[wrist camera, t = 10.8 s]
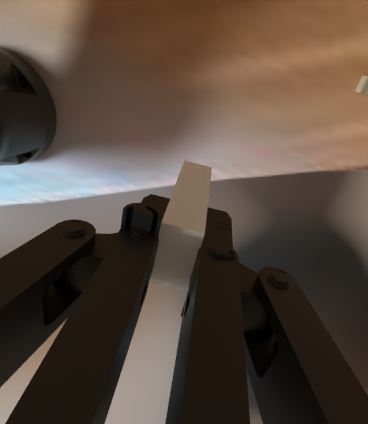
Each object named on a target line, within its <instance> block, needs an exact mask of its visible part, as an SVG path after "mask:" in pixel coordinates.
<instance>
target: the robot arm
mask: <svg viewBox="0 0 368 424" xmlns="http://www.w3.org/2000/svg"><path fill="white" fill-rule="evenodd" d="M55 129H56V114H55V108H54V104H53V101H52V98H51V95H50V93H49V91H48V89H47V87H46V85H45V84H44V82H43V81H42V79H41V78H40V76H39V75H38V74H37V73H36V71H35V70H34V69H33V68H32V67H31V66H30V65H29V64H28V63H27V62H25V61H24V60H23V59H21V58H20V57H19V56H17V55H15V54H14V53H12V52H10V51H8V50H5V49H3V48H0V165H18V164H22V163H26V162H28V161H30V160H32V159H34V158H36V157H38V156H39V155H41V154H42V153H44V152H45V151H46V150H47V148H48V147H49V146H50V144H51V142H52V140H53V137H54V134H55ZM211 170H212V167H208V166H204V165H199V164H195V163H191V162H187V161H184V164H183V166H182V169H181V172H180V174H179V177H178V180H177V182H176V185H175V188H174V190H173V193H172V196H171V198H170V199H169V198H165V197H161V196H157V195H152V194H151V195H149V196H147V197H145V198H144V199H143V200H142V202H141V203H132V204H129V205H126V206H125V207H124V208H123V215H122V223H121V229H120V231H119V232H118V233H113V234H96V233H95V231H96V229H95V228H94V226H93V225H92V224H90V223H88V222H86V221H82V220H67V221H63V222H60V223H58V224H56V225H55V226H53V227H51V228H50V229H48V230H46V231H45V232H43V233H42V234H40V235H38V236H36V237H35V238H33V239H32V240H30V241H28V242H27V243H25V244H23V245H22V246H20V247H18V248H17V249H15V250H13V251H12V252H10V253H9V254H7V255H5V256H4V257H2V258H0V387H1V386H2V385H3V384H4V383H5V382H6V381H7V380H8V379H9V378H10V377H11V376H12V375H13V374H14V373H15V372H16V371H17V370H18V368H19V367H21V365H22V364H23V363H24V362H25V361H26V360H27V359H28V358H29V357H30V356H31V355H32V354H33V353H34V352H35V351H36V350H37V349H38V348H39V347H40V346H41V345H42V344H43V343H44V342H45V341H46V340H47V339H48V337H49V336H50V335H51V334H52V333H53V332H54V331H55V330H56V329H57V328H58V327H59V326H60V325H61V324H62V323H63V322H64V321H65V320H66V319H67V318H68V319H67V320H66V322H65V324H64V325H63V327H62V329H61V330H60V332H59V334H58V335H57V337H56V339H55V340H54V342H53V344H52V346H51V347H50V349H49V351H48V352H47V354H46V356H45V357H44V359H43V361H42V362H41V364H40V366H39V368H38V369H37V371H36V373H35V374H34V376H33V378H32V379H31V381H30V383H29V384H28V386H27V388H26V389H25V391H24V393H23V395H22V396H21V398H20V400H19V401H18V403H17V405H16V406H15V408H14V410H13V412H12V413H11V415H10V417H9V418H8V420H7V422H6V423H5V424H104V423H105V420H106V417H107V414H108V411H109V408H110V404H111V402H112V398H113V395H114V392H115V389H116V386H117V383H118V380H119V377H120V373H121V371H122V367H123V364H124V361H125V358H126V355H127V352H128V349H129V346H130V342H131V339H132V336H133V333H134V329H135V327H136V324H137V321H138V318H139V314H140V312H141V308H142V305H143V302H144V299H145V296H146V293H147V288H148V283H149V282H151V283H155V284H159V285H163V286H167V287H171V288H175V289H179V290H183V291H188V293H187V297H186V300H185V303H184V307H183V310H182V313H181V316H183V317H182V324H181V330H180V336H179V342H178V348H177V355H176V361H175V367H174V374H173V380H172V386H171V392H170V398H169V405H168V411H167V417H166V423H165V424H250V417H249V402H248V388H247V374H246V369H247V371H248V375H249V378H250V382H251V385H252V388H253V392H254V395H255V398H256V401H257V405H258V408H259V411H260V415H261V418H262V421H263V424H368V395H367V394H366V392H365V391H364V389H363V387H362V386H361V384H360V382H359V381H358V379H357V378H356V376H355V374H354V373H353V371H352V370H351V368H350V366H349V365H348V363H347V362H346V360H345V358H344V357H343V355H342V353H341V352H340V351H339V349H338V347H337V345H336V344H335V342H334V341H333V339H332V337H331V336H330V334H329V333H328V331H327V329H326V328H325V326H324V324H323V323H322V321H321V320H320V318H319V316H318V315H317V313H316V312H315V310H314V309H313V307H312V305H311V304H310V302H309V300H308V299H307V297H306V295H305V294H304V292H303V291H302V289H301V287H300V286H299V284H298V283H297V281H296V280H295V279H294V278H293V276H291V275H290V274H288V273H287V272H286V271H284V270H282V269H279V268H275V267H264V268H262V269H261V270H260V272H259V273H257V272H255V271H253V270H251V269H249V268H247V267H245V266H244V265H242V264H241V263H240V262H239V261H238V255H237V253H236V252H235V251H234V250H233V242H232V227H231V226H232V222H231V218H230V216H229V215H228V213H227V212H224V211H220V210H216V209H212V208H208V198H209V189H210V179H211ZM188 288H189V289H188Z"/></svg>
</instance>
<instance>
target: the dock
mask: <svg viewBox="0 0 368 424" xmlns="http://www.w3.org/2000/svg"><path fill="white" fill-rule="evenodd" d="M355 92H358V93H361V94H365V95H368V76H364V75H362V77H361V79H360V81H359V83H358V85H357V87H356V90H355Z"/></svg>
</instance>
